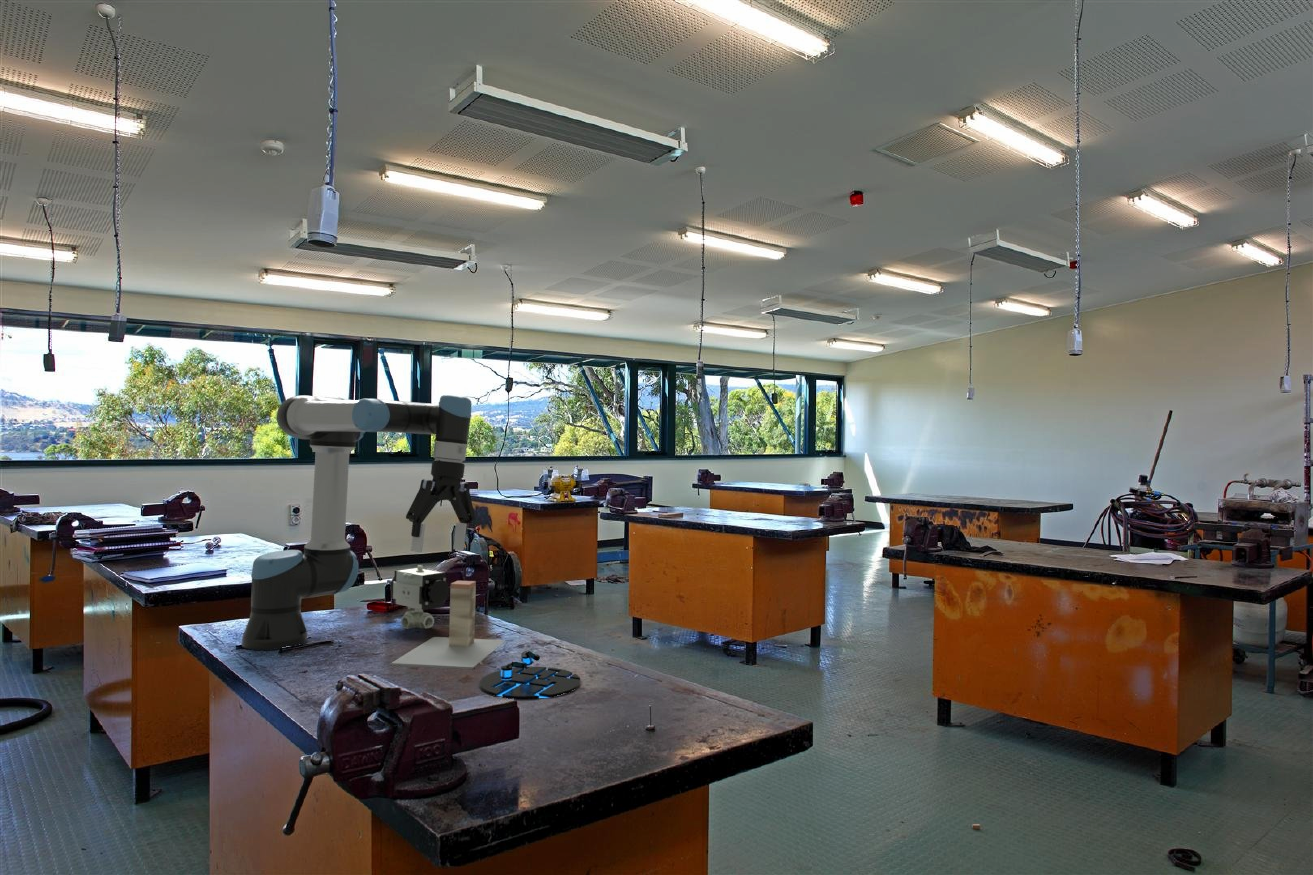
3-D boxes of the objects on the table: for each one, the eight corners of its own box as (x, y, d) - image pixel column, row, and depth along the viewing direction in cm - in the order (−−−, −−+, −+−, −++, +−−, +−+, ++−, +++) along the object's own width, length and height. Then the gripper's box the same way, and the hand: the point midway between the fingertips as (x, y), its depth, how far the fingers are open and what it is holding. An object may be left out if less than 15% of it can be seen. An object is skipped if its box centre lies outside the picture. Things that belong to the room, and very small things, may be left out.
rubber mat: (433, 639, 205) (433, 636, 205) (505, 642, 203) (505, 640, 203) (390, 665, 179) (390, 662, 179) (473, 669, 177) (473, 667, 177)
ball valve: (384, 625, 219) (386, 564, 219) (409, 621, 226) (410, 561, 226) (424, 635, 209) (426, 570, 209) (449, 630, 215) (450, 567, 216)
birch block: (455, 641, 201) (457, 580, 201) (474, 642, 200) (475, 581, 201) (448, 646, 196) (450, 583, 196) (467, 646, 195) (469, 584, 196)
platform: (596, 677, 175) (597, 649, 175) (551, 706, 154) (552, 674, 154) (512, 666, 182) (513, 639, 182) (459, 693, 161) (459, 662, 161)
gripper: (421, 458, 167) (409, 554, 166) (495, 465, 189) (485, 550, 188) (397, 455, 171) (385, 549, 170) (472, 463, 193) (463, 546, 192)
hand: (438, 550), depth 179 cm, fingers open, 13 cm apart
